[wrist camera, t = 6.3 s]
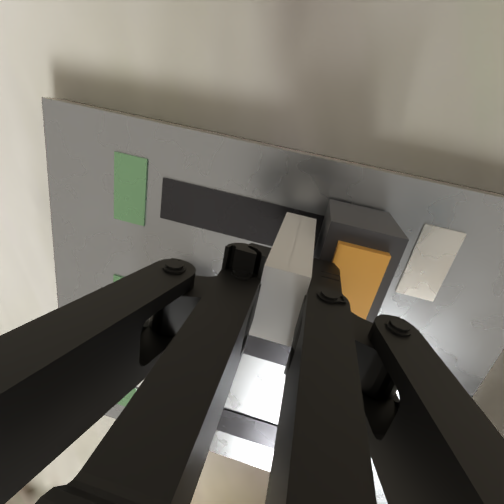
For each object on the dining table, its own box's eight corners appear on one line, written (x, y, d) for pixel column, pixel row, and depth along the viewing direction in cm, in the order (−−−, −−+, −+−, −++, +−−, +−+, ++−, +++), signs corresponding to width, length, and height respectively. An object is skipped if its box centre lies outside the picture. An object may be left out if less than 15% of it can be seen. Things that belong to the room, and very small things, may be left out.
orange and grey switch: (361, 288, 17) (371, 337, 13) (307, 274, 18) (302, 317, 14) (389, 212, 16) (411, 243, 12) (329, 198, 16) (331, 223, 12)
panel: (391, 493, 25) (395, 516, 24) (77, 388, 29) (64, 402, 27) (567, 208, 16) (591, 217, 14) (61, 99, 19) (40, 97, 18)
